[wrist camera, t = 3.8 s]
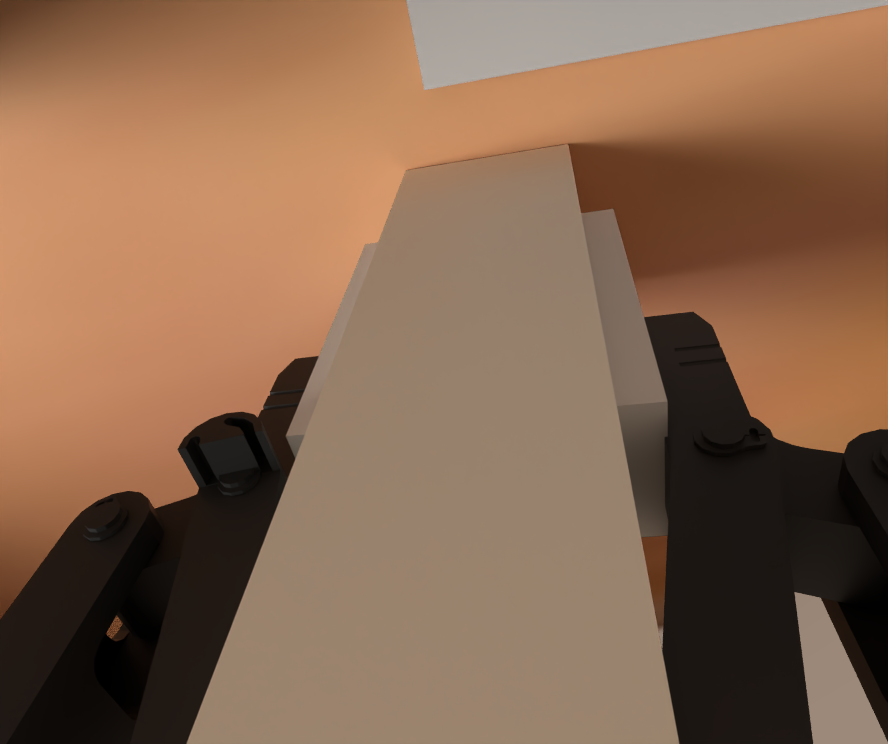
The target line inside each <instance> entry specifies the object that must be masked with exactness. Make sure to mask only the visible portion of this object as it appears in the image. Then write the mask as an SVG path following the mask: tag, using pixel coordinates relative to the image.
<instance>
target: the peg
mask: <svg viewBox="0 0 888 744" xmlns="http://www.w3.org/2000/svg"><path fill="white" fill-rule="evenodd" d="M187 744H679V740H678V734H677V729H676V723H675V718H674V713H673V707H672V702H671V696H670V691H669V686H668V680H667V675H666V669H665V664H664V659H663V653H662V648H661V643H660V637H659V632H658V626H657V621H656V615H655V610H654V605H653V599H652V594H651V588H650V583H649V578H648V572H647V567H646V561H645V556H644V551H643V545H642V540H641V534H640V529H639V524H638V518H637V513H636V507H635V502H634V497H633V491H632V486H631V480H630V475H629V470H628V464H627V459H626V453H625V448H624V443H623V437H622V432H621V426H620V421H619V416H618V410H617V405H616V399H615V394H614V389H613V383H612V378H611V372H610V367H609V362H608V356H607V351H606V345H605V340H604V335H603V329H602V324H601V318H600V313H599V308H598V302H597V297H596V291H595V286H594V281H593V275H592V270H591V264H590V259H589V254H588V248H587V243H586V237H585V232H584V227H583V221H582V216H581V210H580V205H579V200H578V194H577V189H576V183H575V178H574V173H573V167H572V162H571V156H570V151H569V146H568V144H565V145H559V146H553V147H547V148H540V149H534V150H528V151H522V152H516V153H510V154H504V155H497V156H491V157H485V158H479V159H473V160H467V161H461V162H454V163H448V164H442V165H436V166H430V167H424V168H418V169H411V170H406V171H405V174H404V176H403V179H402V182H401V184H400V187H399V189H398V192H397V195H396V197H395V200H394V203H393V205H392V208H391V210H390V213H389V216H388V218H387V221H386V223H385V226H384V229H383V231H382V234H381V237H380V239H379V242H378V244H377V247H376V250H375V252H374V255H373V257H372V260H371V263H370V265H369V268H368V271H367V273H366V276H365V278H364V281H363V284H362V286H361V289H360V291H359V294H358V297H357V299H356V302H355V305H354V307H353V310H352V312H351V315H350V318H349V320H348V323H347V325H346V328H345V331H344V333H343V336H342V339H341V341H340V344H339V346H338V349H337V352H336V354H335V357H334V359H333V362H332V365H331V367H330V370H329V373H328V375H327V378H326V380H325V383H324V386H323V388H322V391H321V393H320V396H319V399H318V401H317V404H316V406H315V409H314V412H313V414H312V417H311V420H310V422H309V425H308V427H307V430H306V433H305V435H304V438H303V440H302V443H301V446H300V448H299V451H298V454H297V456H296V459H295V461H294V464H293V467H292V469H291V472H290V474H289V477H288V480H287V482H286V485H285V488H284V490H283V493H282V495H281V498H280V501H279V503H278V506H277V508H276V511H275V514H274V516H273V519H272V522H271V524H270V527H269V529H268V532H267V535H266V537H265V540H264V542H263V545H262V548H261V550H260V553H259V556H258V558H257V561H256V563H255V566H254V569H253V571H252V574H251V576H250V579H249V582H248V584H247V587H246V590H245V592H244V595H243V597H242V600H241V603H240V605H239V608H238V610H237V613H236V616H235V618H234V621H233V624H232V626H231V629H230V631H229V634H228V637H227V639H226V642H225V644H224V647H223V650H222V652H221V655H220V658H219V660H218V663H217V665H216V668H215V671H214V673H213V676H212V678H211V681H210V684H209V686H208V689H207V692H206V694H205V697H204V699H203V702H202V705H201V707H200V710H199V712H198V715H197V718H196V720H195V723H194V725H193V728H192V731H191V733H190V736H189V739H188V741H187Z"/></svg>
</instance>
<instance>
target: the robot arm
mask: <svg viewBox="0 0 888 744" xmlns="http://www.w3.org/2000/svg"><path fill="white" fill-rule="evenodd" d="M581 216H582V221H583V227H584V232H585V237H586V243H587V248H588V254H589V259H590V264H591V270H592V275H593V281H594V286H595V291H596V297H597V302H598V308H599V313H600V318H601V324H602V329H603V335H604V340H605V345H606V351H607V356H608V362H609V367H610V372H611V378H612V383H613V389H614V394H615V399H616V405H617V410H618V416H619V421H620V426H621V432H622V437H623V443H624V448H625V453H626V459H627V464H628V470H629V475H630V480H631V486H632V491H633V497H634V502H635V507H636V513H637V518H638V524H639V529H640V534H641V537H654V536H668V539H667V561H666V583H665V605H664V626H663V648H662V653H663V659H664V664H665V669H666V675H667V680H668V686H669V691H670V696H671V702H672V707H673V713H674V718H675V723H676V729H677V734H678V740H679V744H813V739H812V731H811V723H810V715H809V706H808V698H807V690H806V682H805V675H804V666H803V658H802V650H801V642H800V634H799V626H798V618H797V610H796V602H795V594H794V592H798V593H802V594H807V595H812V596H816V597H820V598H821V599H822V601H823V603H824V605H825V608H826V610H827V612H828V614H829V616H830V618H831V621H832V623H833V625H834V627H835V629H836V631H837V633H838V635H839V638H840V640H841V642H842V644H843V646H844V648H845V650H846V653H847V655H848V657H849V659H850V661H851V664H852V666H853V668H854V670H855V672H856V674H857V677H858V678H859V681H860V683H861V685H862V687H863V689H864V691H865V694H866V696H867V698H868V700H869V702H870V704H871V707H872V709H873V711H874V713H875V715H876V717H877V720H878V722H879V724H880V726H881V728H882V730H883V732H884V734H885V737H886V739H887V741H888V430H885V429H880V430H875V431H871V432H867V433H863V434H860V435H859V436H857V437H856V438H855V439H853V440H852V441H850V442H849V443H848V445H847V448H846V450H845V453H837V452H830V451H823V450H816V449H809V448H804V447H799V446H795V445H791V444H788V443H786V442H783V441H780V440H778V439H776V438H774V437H773V435H772V433H771V431H770V429H769V428H767V427H766V426H765V425H764V424H763V423H762V422H760V421H759V420H758V419H756V418H754V417H751V416H750V414H749V411H748V409H747V407H746V404H745V402H744V400H743V397H742V395H741V393H740V390H739V388H738V386H737V383H736V381H735V379H734V376H733V374H732V371H731V369H730V367H729V364H728V362H726V357H725V355H724V353H723V350H722V348H721V347H720V343H719V341H718V339H717V336H716V334H715V332H714V329H713V327H712V325H710V324H709V323H708V322H706V321H705V320H704V319H702V318H701V317H700V316H698V315H697V314H696V313H694V312H687V313H678V314H669V315H661V316H652V317H644V316H643V312H642V309H641V305H640V302H639V298H638V295H637V291H636V287H635V284H634V280H633V277H632V273H631V270H630V266H629V263H628V259H627V255H626V252H625V248H624V245H623V241H622V238H621V234H620V231H619V227H618V223H617V220H616V216H615V213H614V209H608V210H601V211H594V212H587V213H581ZM377 244H378V243H371V244H365V246H364V249H363V251H362V254H361V256H360V258H359V261H358V263H357V266H356V268H355V270H354V273H353V275H352V278H351V280H350V282H349V285H348V287H347V290H346V292H345V295H344V297H343V299H342V302H341V304H340V307H339V309H338V311H337V314H336V316H335V319H334V321H333V323H332V326H331V328H330V331H329V333H328V335H327V338H326V340H325V343H324V345H323V348H322V350H321V352H320V355H319V356H316V357H307V358H298V359H295V360H294V361H292V362H291V363H290V364H289V365H288V366H287V367H286V368H285V369H284V370H283V371H282V372H281V373H280V374H279V375H278V377H277V379H276V381H275V383H274V385H273V387H272V389H271V391H270V396H268V398H267V400H266V402H265V404H264V406H263V408H264V410H261V412H260V414H259V416H258V418H257V417H256V416H255V415H254V414H250V413H245V412H235V413H226V414H223V415H220V416H217V417H214V418H212V419H209V420H208V421H206V422H204V423H203V424H201V425H199V426H197V427H196V428H195V429H194V430H192V431H191V432H190V433H189V434H188V435H187V436H186V437H185V438H184V439H183V441H182V443H181V444H180V446H179V448H178V451H179V453H180V455H181V457H182V458H183V460H184V462H185V464H186V465H187V467H188V469H189V471H190V473H191V474H192V476H193V478H194V480H195V481H196V483H197V485H198V487H199V491H198V494H197V495H194V496H192V497H189V498H186V499H183V500H180V501H177V502H174V503H171V504H168V505H165V506H161V507H158V508H155V509H154V507H153V506H152V504H151V503H150V501H149V499H148V498H147V497H145V496H144V495H143V494H142V493H139V492H132V491H126V492H121V493H116V494H112V495H110V496H108V497H105V498H103V499H101V500H98V501H97V502H95V503H94V504H92V505H91V506H89V507H88V508H86V509H85V510H84V511H82V512H81V513H80V514H79V515H78V516H77V518H76V519H75V520H74V521H73V522H72V523H71V524H70V525H69V527H68V528H67V529H66V531H65V532H64V533H63V535H62V536H61V538H60V539H59V540H58V542H57V543H56V544H55V546H54V547H53V548H52V550H51V551H50V553H49V554H48V555H47V557H46V558H45V559H44V561H43V562H42V564H41V565H40V566H39V568H38V569H37V570H36V572H35V573H34V574H33V576H32V577H31V579H30V580H29V581H28V583H27V584H26V585H25V587H24V588H23V589H22V591H21V592H20V594H19V595H18V596H17V598H16V599H15V600H14V602H13V603H12V605H11V606H10V607H9V609H8V610H7V611H6V613H5V614H4V615H3V617H2V618H1V620H0V744H187V741H188V739H189V736H190V733H191V731H192V728H193V725H194V723H195V720H196V718H197V715H198V712H199V710H200V707H201V705H202V702H203V699H204V697H205V694H206V692H207V689H208V686H209V684H210V681H211V678H212V676H213V673H214V671H215V668H216V665H217V663H218V660H219V658H220V655H221V652H222V650H223V647H224V644H225V642H226V639H227V637H228V634H229V631H230V629H231V626H232V624H233V621H234V618H235V616H236V613H237V610H238V608H239V605H240V603H241V600H242V597H243V595H244V592H245V590H246V587H247V584H248V582H249V579H250V576H251V574H252V571H253V569H254V566H255V563H256V561H257V558H258V556H259V553H260V550H261V548H262V545H263V542H264V540H265V537H266V535H267V532H268V529H269V527H270V524H271V522H272V519H273V516H274V514H275V511H276V508H277V506H278V503H279V501H280V498H281V495H282V493H283V490H284V488H285V485H286V482H287V480H288V477H289V474H290V472H291V469H292V467H293V464H294V461H295V459H296V456H297V454H298V451H299V448H300V446H301V443H302V440H303V438H304V435H305V433H306V430H307V427H308V425H309V422H310V420H311V417H312V414H313V412H314V409H315V406H316V404H317V401H318V399H319V396H320V393H321V391H322V388H323V386H324V383H325V380H326V378H327V375H328V373H329V370H330V367H331V365H332V362H333V359H334V357H335V354H336V352H337V349H338V346H339V344H340V341H341V339H342V336H343V333H344V331H345V328H346V325H347V323H348V320H349V318H350V315H351V312H352V310H353V307H354V305H355V302H356V299H357V297H358V294H359V291H360V289H361V286H362V284H363V281H364V278H365V276H366V273H367V271H368V268H369V265H370V263H371V260H372V257H373V255H374V252H375V250H376V247H377ZM116 615H117V616H118V618H119V619H120V620H121V621H122V623H123V624H122V626H121V628H120V630H119V631H118V632H117V634H116V635H115V636H114V637H113V638H112V639H111V638H109V637H108V636H107V634H106V632H107V631H108V629H109V627H110V625H111V624H112V622H113V620H114V619H115V617H116Z"/></svg>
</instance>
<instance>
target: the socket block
mask: <svg viewBox="0 0 888 744" xmlns="http://www.w3.org/2000/svg"><path fill="white" fill-rule="evenodd" d="M406 1H407V6H408V11H409V16H410V21H411V26H412V31H413V36H414V41H415V46H416V51H417V56H418V61H419V66H420V71H421V76H422V81H423V86H424V90H427V89H433V88H438V87H444V86H449V85H455V84H460V83H465V82H471V81H476V80H482V79H487V78H493V77H498V76H504V75H509V74H514V73H520V72H525V71H531V70H536V69H542V68H547V67H552V66H558V65H563V64H569V63H574V62H580V61H585V60H591V59H596V58H601V57H607V56H612V55H618V54H623V53H629V52H634V51H640V50H645V49H650V48H656V47H661V46H667V45H672V44H678V43H683V42H688V41H694V40H699V39H705V38H710V37H716V36H721V35H727V34H732V33H737V32H743V31H748V30H754V29H759V28H765V27H770V26H775V25H781V24H786V23H792V22H797V21H803V20H808V19H814V18H819V17H824V16H830V15H835V14H841V13H846V12H852V11H857V10H862V9H868V8H873V7H879V6H884V5H888V0H406Z"/></svg>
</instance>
